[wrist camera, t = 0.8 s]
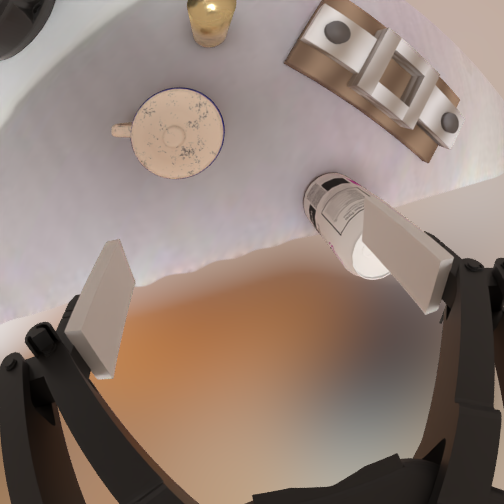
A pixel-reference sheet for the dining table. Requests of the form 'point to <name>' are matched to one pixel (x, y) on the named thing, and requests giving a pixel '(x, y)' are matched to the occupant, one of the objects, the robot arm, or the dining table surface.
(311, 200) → the supplement can
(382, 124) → the pin insertion fixture
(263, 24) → the dining table surface
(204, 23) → the brass pin
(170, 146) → the teacup with lid
